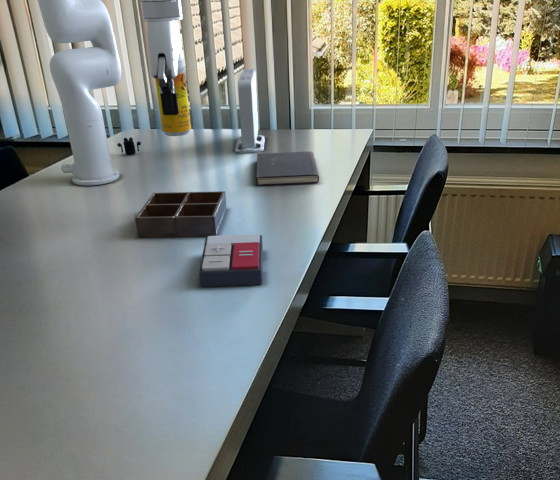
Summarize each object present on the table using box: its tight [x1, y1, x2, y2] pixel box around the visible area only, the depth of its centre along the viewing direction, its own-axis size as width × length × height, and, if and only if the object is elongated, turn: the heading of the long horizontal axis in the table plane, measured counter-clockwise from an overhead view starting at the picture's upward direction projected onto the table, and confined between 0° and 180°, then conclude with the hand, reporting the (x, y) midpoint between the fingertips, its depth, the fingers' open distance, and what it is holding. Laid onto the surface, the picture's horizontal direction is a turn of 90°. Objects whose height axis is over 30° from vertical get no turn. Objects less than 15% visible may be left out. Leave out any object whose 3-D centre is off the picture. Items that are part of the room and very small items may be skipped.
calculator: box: [199, 233, 264, 288], centre depth 115 cm, size 11×4×15 cm
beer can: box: [154, 54, 192, 137], centre depth 127 cm, size 6×6×15 cm
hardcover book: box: [255, 150, 320, 187], centre depth 167 cm, size 16×23×2 cm
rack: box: [134, 190, 228, 238], centre depth 137 cm, size 17×17×4 cm
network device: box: [234, 68, 266, 154], centre depth 189 cm, size 26×9×20 cm, turn 179°
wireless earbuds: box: [117, 136, 142, 156], centre depth 188 cm, size 7×2×5 cm, turn 99°
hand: (174, 110), depth 129 cm, fingers closed on beer can, 6 cm apart
